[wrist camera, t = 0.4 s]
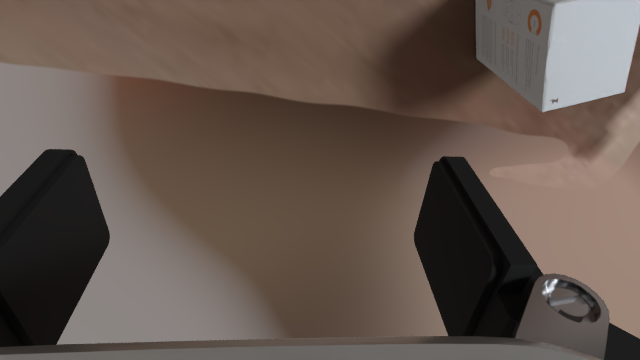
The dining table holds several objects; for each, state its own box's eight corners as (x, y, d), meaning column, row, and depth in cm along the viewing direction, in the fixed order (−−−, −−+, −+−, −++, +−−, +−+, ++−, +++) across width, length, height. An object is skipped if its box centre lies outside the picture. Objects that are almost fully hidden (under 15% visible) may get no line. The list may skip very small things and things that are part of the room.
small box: (536, 43, 40) (626, 94, 29) (474, 59, 41) (540, 115, 30) (544, -45, 35) (654, -22, 25) (473, -26, 36) (551, 5, 25)
